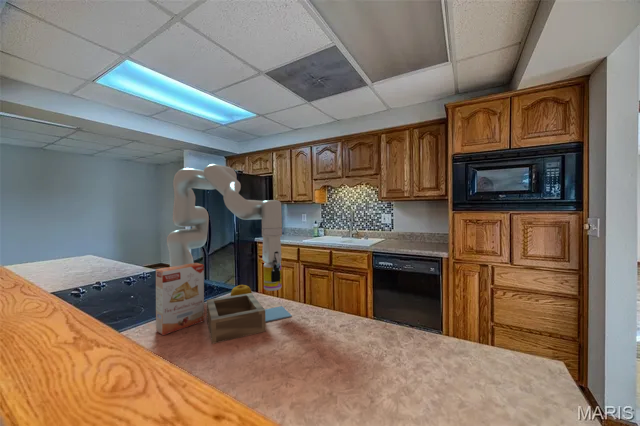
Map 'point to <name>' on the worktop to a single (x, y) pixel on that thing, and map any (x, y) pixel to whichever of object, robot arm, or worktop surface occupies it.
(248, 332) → the box
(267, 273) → the supplement bottle
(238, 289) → the apple
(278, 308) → the mat
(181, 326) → the cracker box
